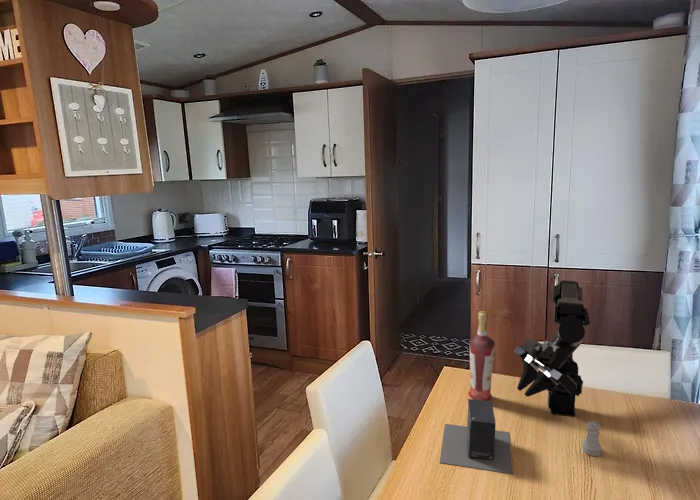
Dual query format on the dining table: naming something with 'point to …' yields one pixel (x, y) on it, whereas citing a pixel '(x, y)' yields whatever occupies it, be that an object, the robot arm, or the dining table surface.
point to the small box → (480, 429)
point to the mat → (457, 455)
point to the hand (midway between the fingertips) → (522, 392)
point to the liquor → (481, 361)
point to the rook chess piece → (592, 439)
